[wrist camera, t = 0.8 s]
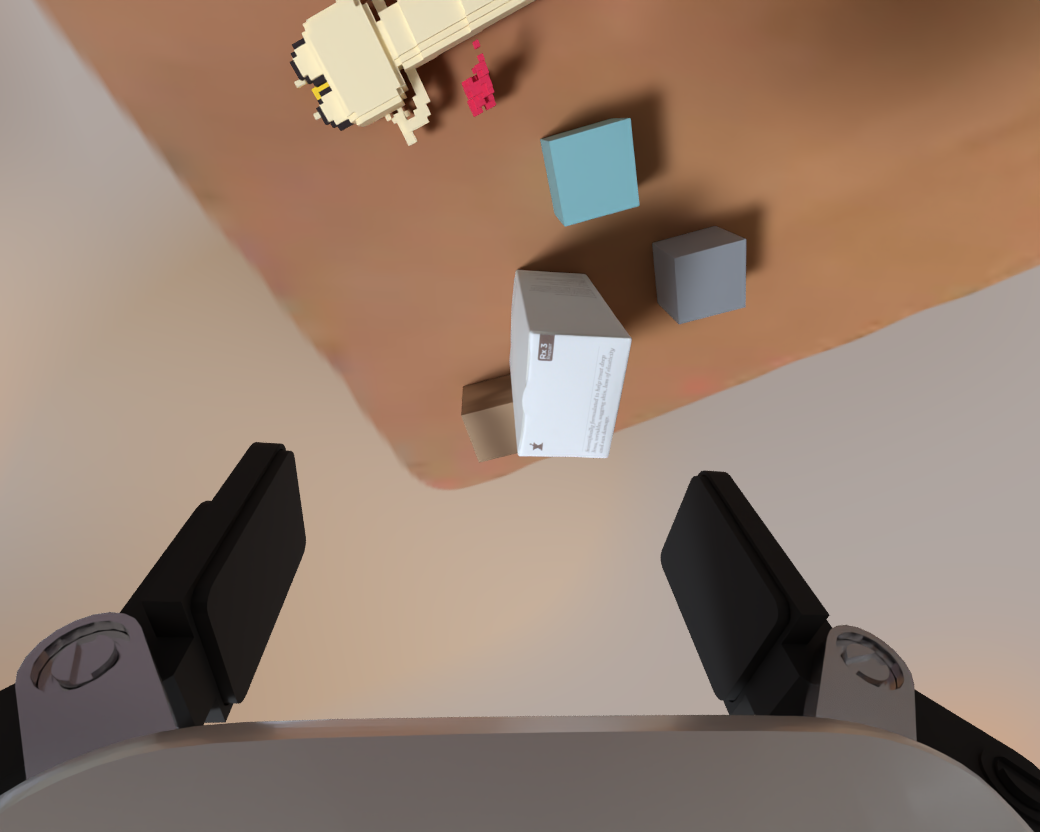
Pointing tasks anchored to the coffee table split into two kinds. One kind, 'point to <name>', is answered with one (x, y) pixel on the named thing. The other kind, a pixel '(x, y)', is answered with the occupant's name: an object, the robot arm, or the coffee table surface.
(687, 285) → the charcoal block
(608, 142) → the teal block
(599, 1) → the coffee table surface
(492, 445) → the walnut block
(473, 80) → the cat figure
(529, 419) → the skincare box
